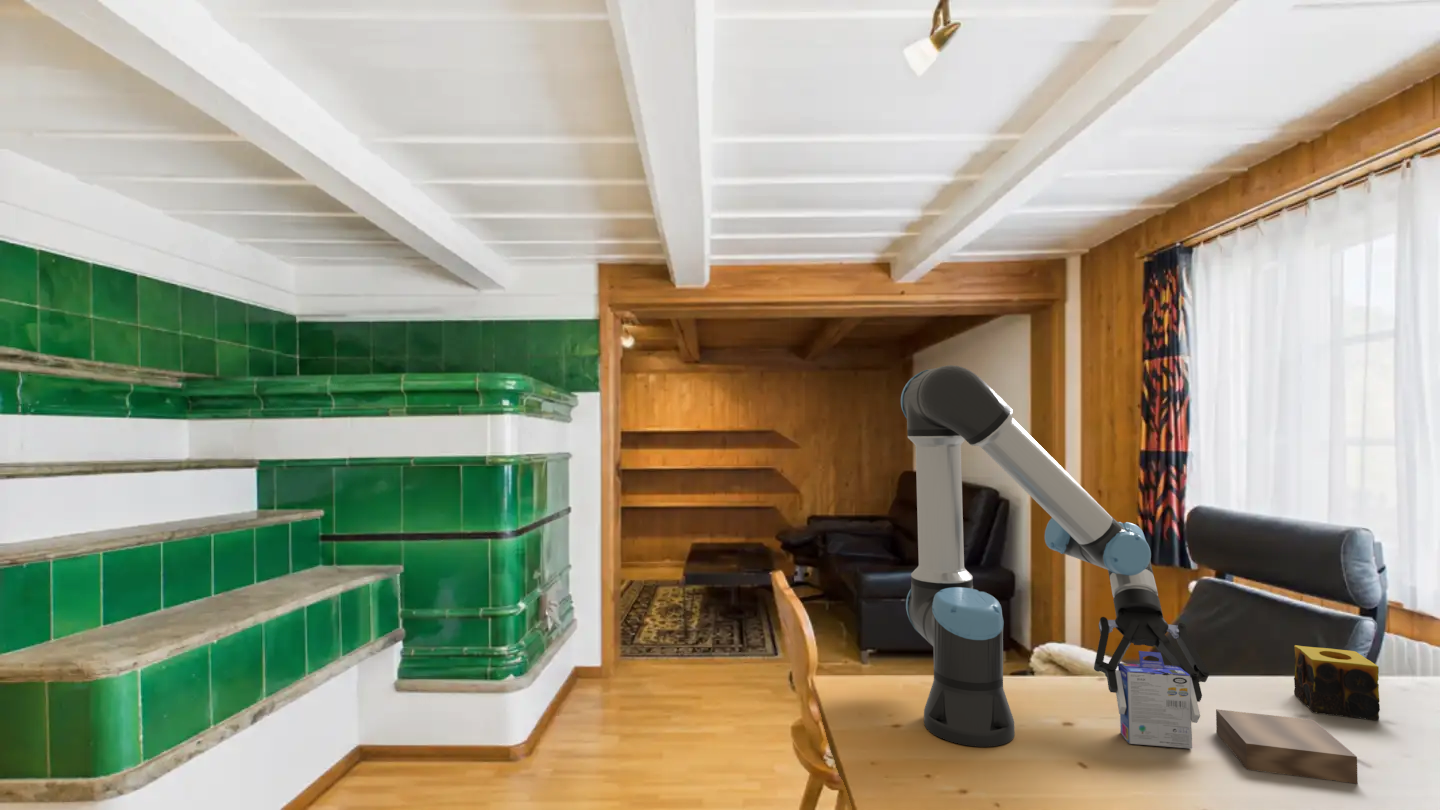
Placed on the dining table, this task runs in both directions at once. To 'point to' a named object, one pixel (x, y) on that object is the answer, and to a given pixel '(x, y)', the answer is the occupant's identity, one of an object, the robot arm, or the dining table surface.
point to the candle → (1337, 682)
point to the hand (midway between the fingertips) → (1158, 714)
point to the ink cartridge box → (1156, 703)
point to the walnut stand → (1286, 746)
